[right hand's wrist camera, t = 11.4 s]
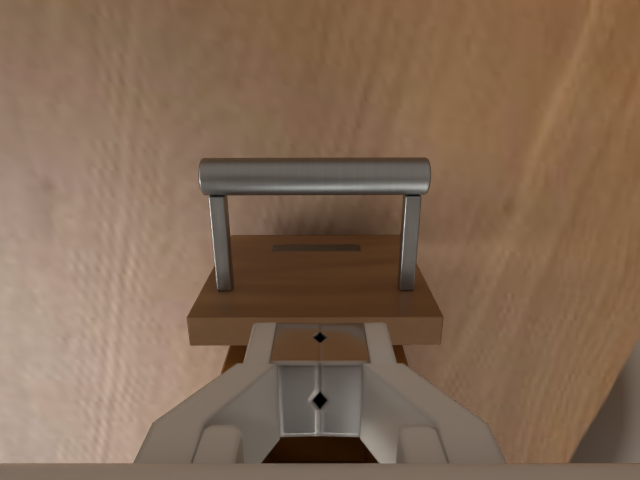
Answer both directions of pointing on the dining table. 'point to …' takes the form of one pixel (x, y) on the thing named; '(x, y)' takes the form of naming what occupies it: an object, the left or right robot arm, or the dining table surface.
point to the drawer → (314, 270)
